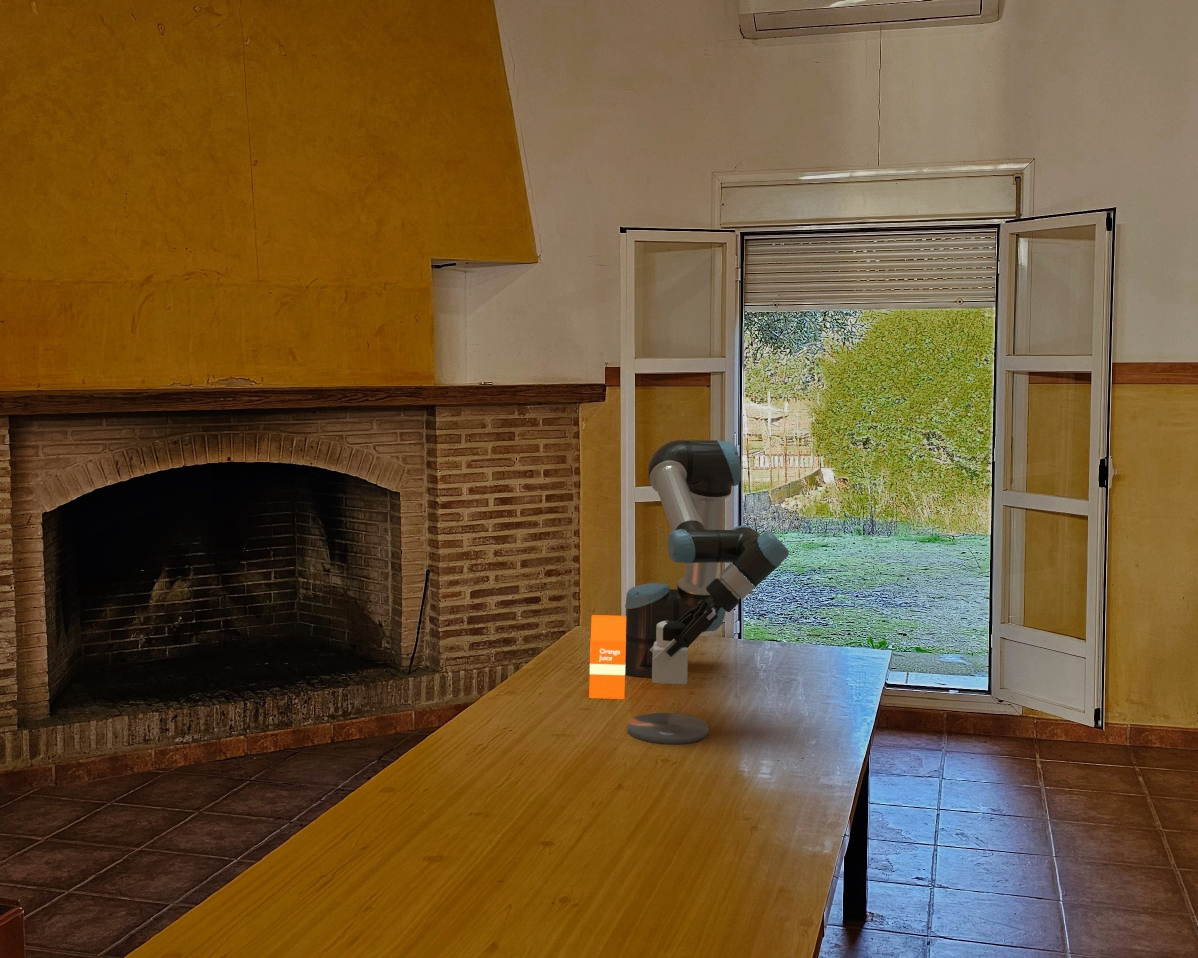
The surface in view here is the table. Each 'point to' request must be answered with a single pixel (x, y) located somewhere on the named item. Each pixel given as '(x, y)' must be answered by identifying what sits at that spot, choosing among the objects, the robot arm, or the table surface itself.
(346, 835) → the table surface
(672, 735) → the slate plate
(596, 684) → the orange juice
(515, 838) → the table surface
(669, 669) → the container
